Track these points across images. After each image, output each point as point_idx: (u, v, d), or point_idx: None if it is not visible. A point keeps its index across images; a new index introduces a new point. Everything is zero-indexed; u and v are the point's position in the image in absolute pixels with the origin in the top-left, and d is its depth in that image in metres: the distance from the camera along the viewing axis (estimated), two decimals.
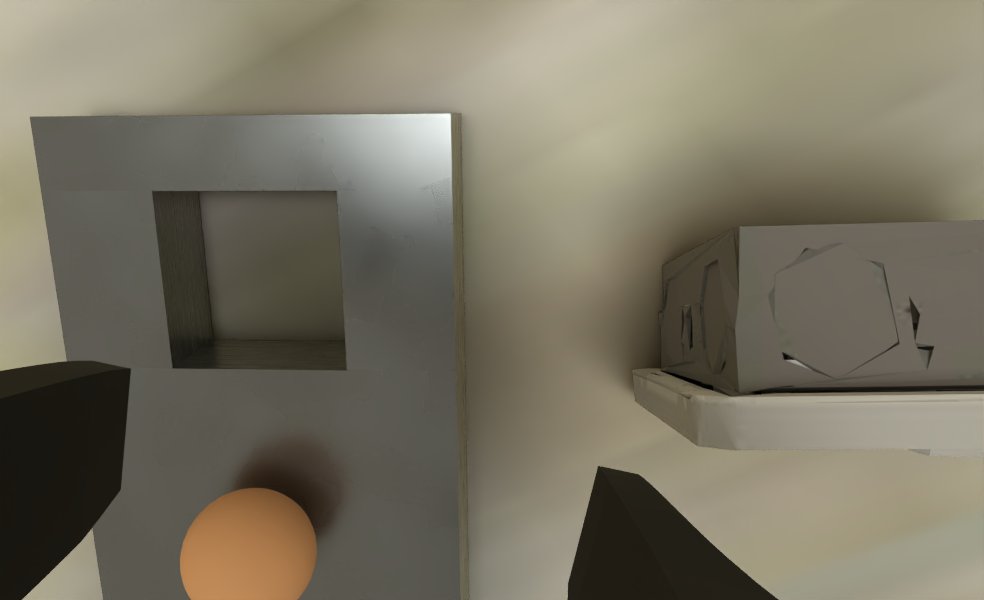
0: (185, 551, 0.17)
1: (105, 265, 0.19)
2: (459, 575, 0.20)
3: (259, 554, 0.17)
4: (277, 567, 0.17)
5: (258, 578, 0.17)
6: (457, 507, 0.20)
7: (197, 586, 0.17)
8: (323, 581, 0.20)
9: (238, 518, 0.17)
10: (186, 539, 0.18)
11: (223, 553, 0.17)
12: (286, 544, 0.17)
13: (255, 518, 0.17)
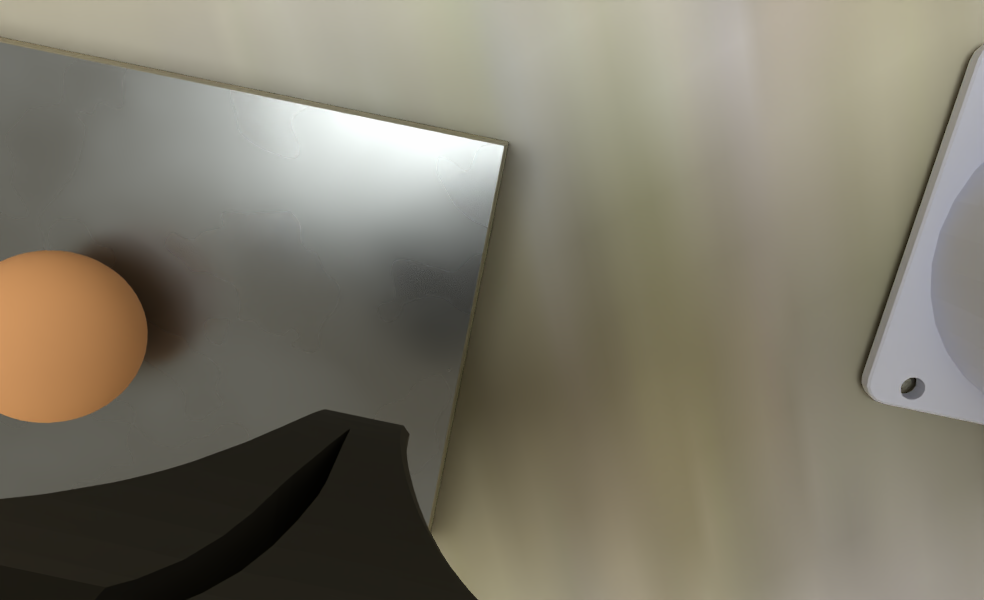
0: None
1: None
2: (199, 84, 0.14)
3: None
4: None
5: None
6: (94, 63, 0.14)
7: None
8: (193, 272, 0.15)
9: None
10: None
11: None
12: None
13: None
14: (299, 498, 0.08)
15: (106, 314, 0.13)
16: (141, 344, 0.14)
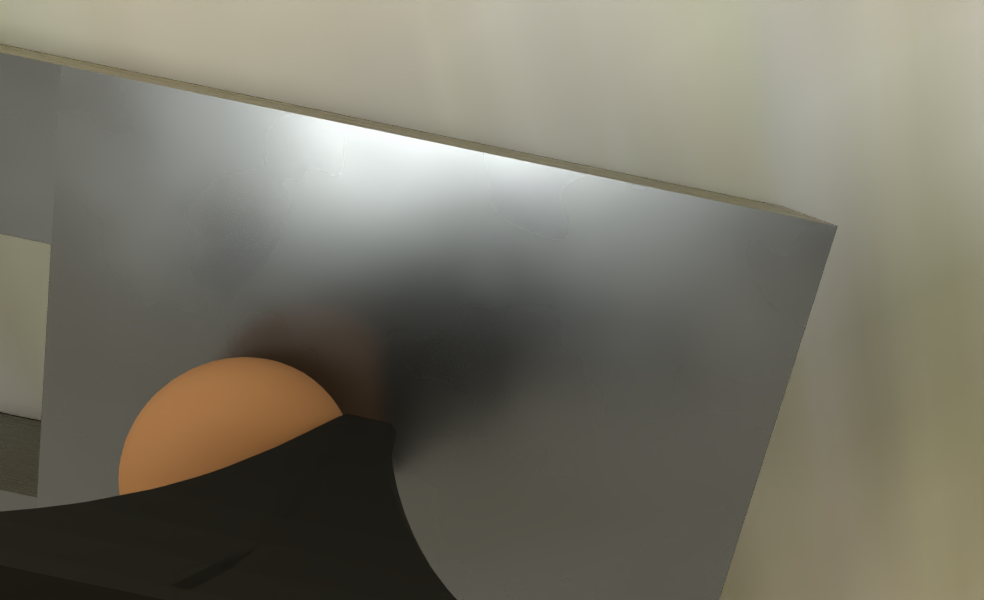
0: None
1: None
2: (443, 145, 0.11)
3: (143, 436, 0.10)
4: (175, 417, 0.10)
5: (164, 453, 0.09)
6: (308, 118, 0.11)
7: None
8: (417, 379, 0.12)
9: None
10: None
11: (124, 492, 0.10)
12: (171, 392, 0.10)
13: None
14: None
15: None
16: None
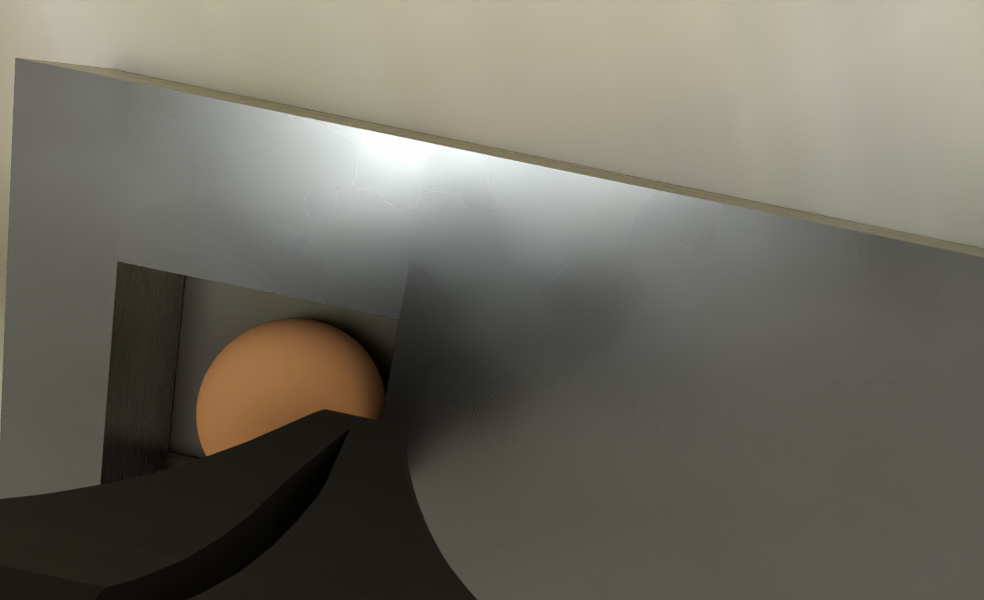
0: None
1: None
2: (816, 223, 0.11)
3: None
4: None
5: None
6: (680, 196, 0.11)
7: None
8: (763, 455, 0.12)
9: None
10: None
11: None
12: (356, 342, 0.14)
13: None
14: (300, 499, 0.08)
15: None
16: None
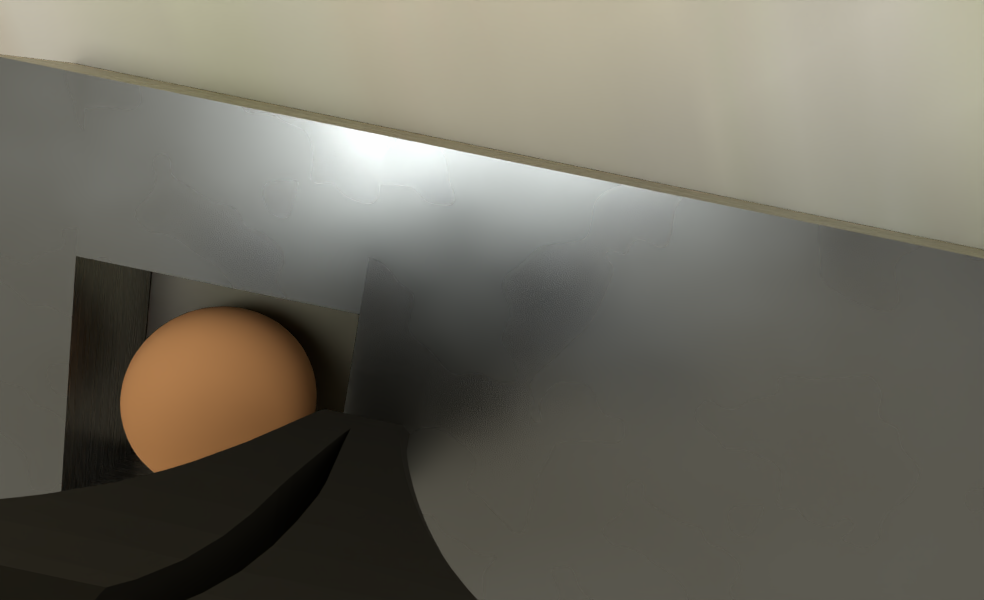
0: None
1: None
2: (776, 216, 0.11)
3: None
4: (290, 335, 0.14)
5: None
6: (639, 189, 0.11)
7: None
8: (726, 450, 0.12)
9: (314, 407, 0.13)
10: None
11: None
12: (292, 338, 0.13)
13: (311, 388, 0.13)
14: (300, 499, 0.08)
15: None
16: None
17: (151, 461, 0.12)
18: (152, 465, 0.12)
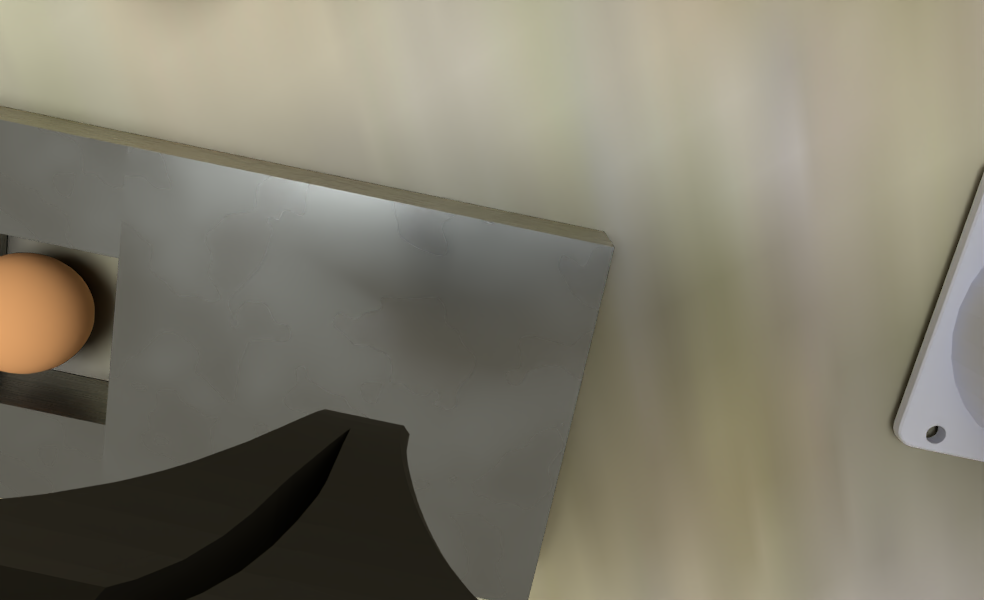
0: None
1: (2, 452, 0.20)
2: (368, 196, 0.18)
3: (86, 294, 0.20)
4: (79, 277, 0.20)
5: None
6: (283, 179, 0.18)
7: None
8: (354, 345, 0.19)
9: (73, 324, 0.19)
10: (60, 364, 0.20)
11: (91, 322, 0.20)
12: (68, 277, 0.20)
13: (70, 310, 0.19)
14: (299, 498, 0.08)
15: None
16: None
17: None
18: None
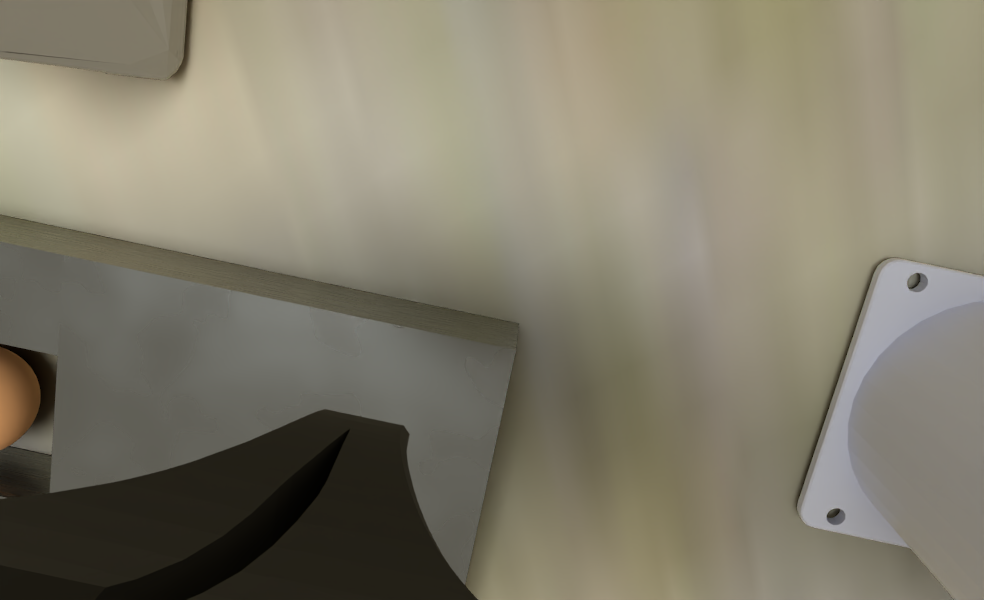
0: None
1: None
2: (286, 301, 0.19)
3: (29, 382, 0.21)
4: (24, 366, 0.21)
5: (34, 375, 0.22)
6: (207, 286, 0.19)
7: None
8: None
9: (14, 413, 0.21)
10: (5, 447, 0.21)
11: (35, 408, 0.21)
12: (11, 368, 0.21)
13: (11, 400, 0.21)
14: (300, 499, 0.08)
15: None
16: None
17: None
18: None
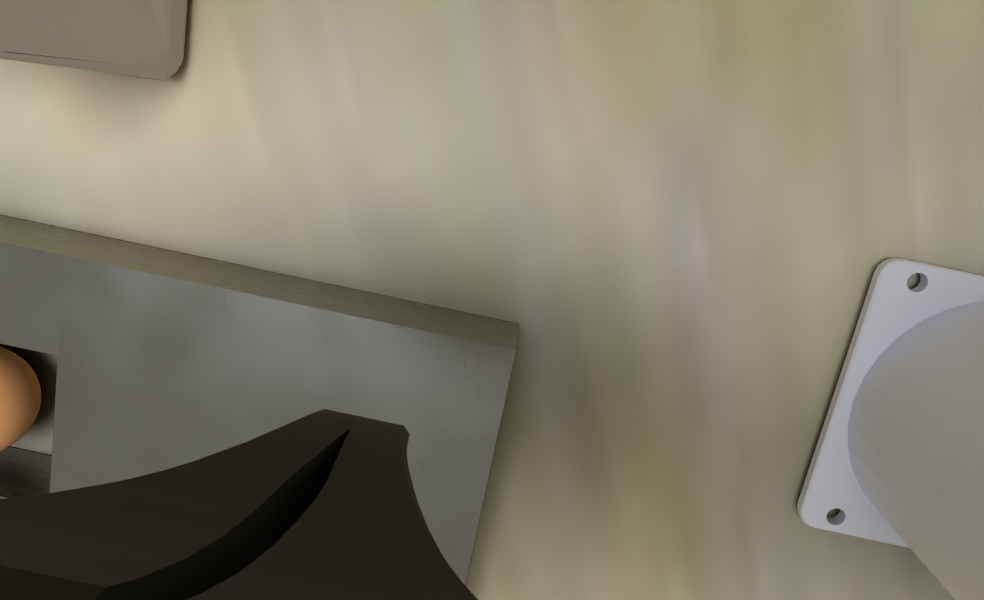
0: None
1: None
2: (286, 301, 0.19)
3: (30, 382, 0.21)
4: (24, 366, 0.21)
5: (35, 375, 0.22)
6: (207, 286, 0.19)
7: (33, 416, 0.22)
8: None
9: (15, 413, 0.21)
10: (5, 447, 0.21)
11: (35, 408, 0.21)
12: (12, 368, 0.21)
13: (12, 400, 0.21)
14: (300, 499, 0.08)
15: None
16: None
17: None
18: None
